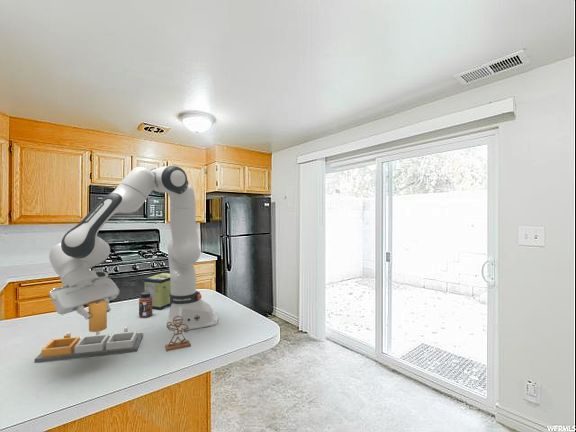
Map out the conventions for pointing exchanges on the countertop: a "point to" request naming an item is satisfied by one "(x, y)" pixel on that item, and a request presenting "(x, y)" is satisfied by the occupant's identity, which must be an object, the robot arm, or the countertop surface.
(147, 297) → the supplement bottle
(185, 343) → the gingerbread man figurine
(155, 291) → the protein box
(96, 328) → the cap
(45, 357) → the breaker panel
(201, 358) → the countertop surface
